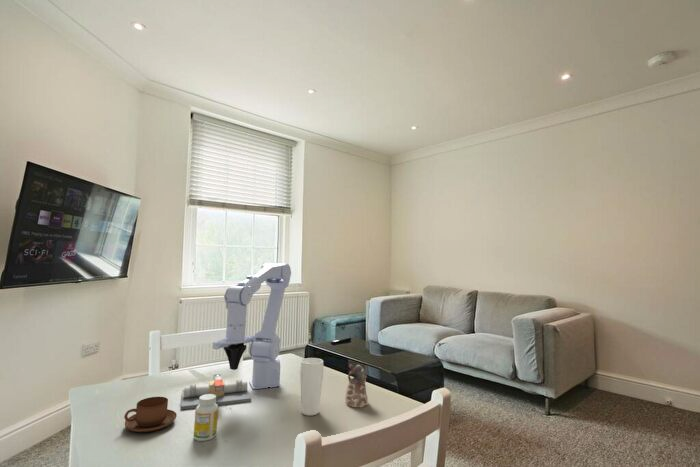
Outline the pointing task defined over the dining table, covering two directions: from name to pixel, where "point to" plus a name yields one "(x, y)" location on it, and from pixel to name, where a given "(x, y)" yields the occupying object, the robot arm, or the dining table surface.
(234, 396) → the valve board
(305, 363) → the drinking glass
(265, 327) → the robot arm
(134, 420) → the cup and saucer
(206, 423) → the supplement bottle
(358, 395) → the figurine
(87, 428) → the dining table surface
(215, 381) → the valve lever
